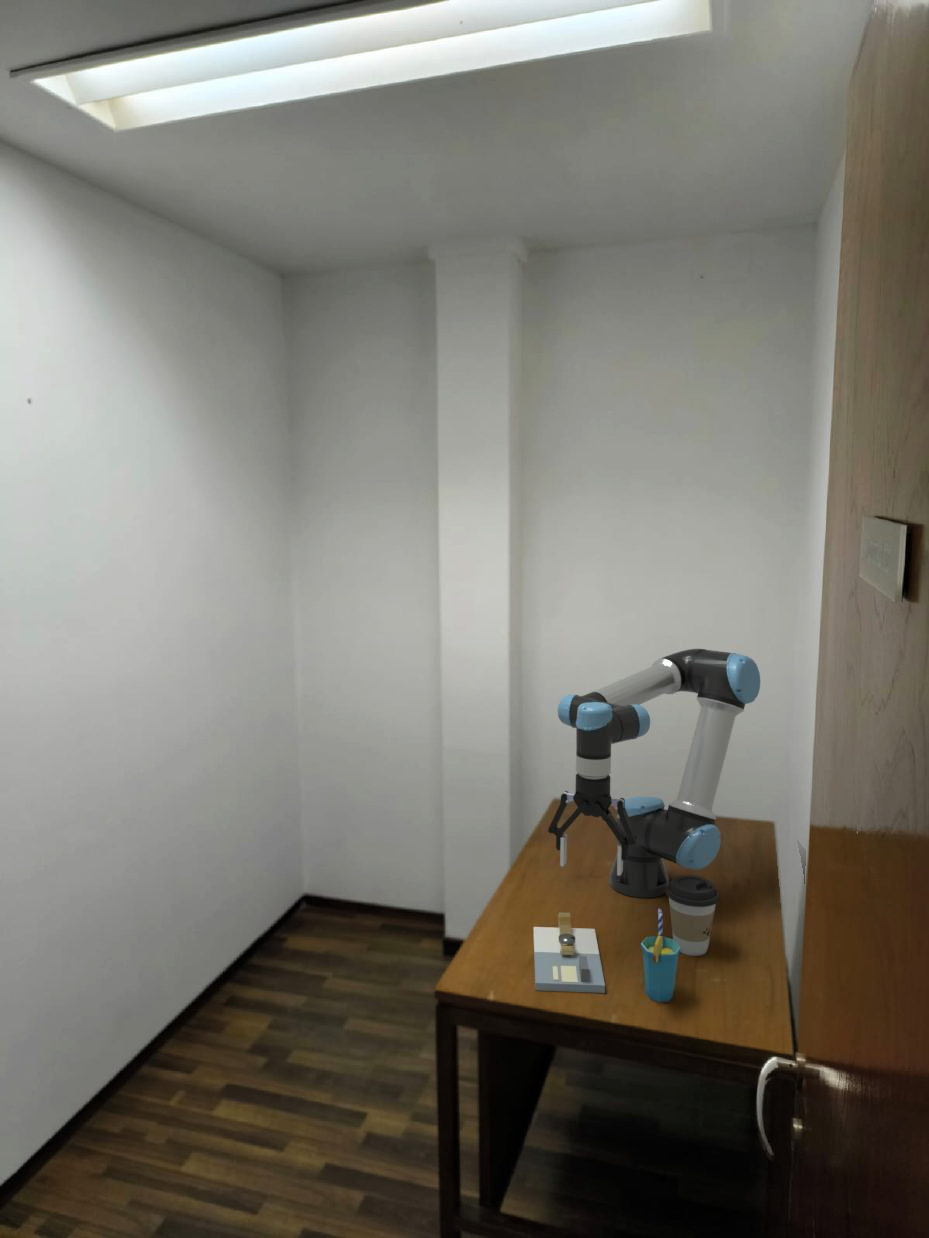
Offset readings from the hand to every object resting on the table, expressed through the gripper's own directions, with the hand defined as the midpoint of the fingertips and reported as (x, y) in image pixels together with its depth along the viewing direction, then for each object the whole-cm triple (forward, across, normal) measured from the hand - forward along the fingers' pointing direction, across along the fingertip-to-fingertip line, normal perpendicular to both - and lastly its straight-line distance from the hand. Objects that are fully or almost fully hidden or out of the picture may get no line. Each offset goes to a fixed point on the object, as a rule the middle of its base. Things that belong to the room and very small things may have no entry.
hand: (591, 868), depth 180 cm
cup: (+19, -17, +12) cm, 28 cm away
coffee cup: (+19, -21, -8) cm, 29 cm away
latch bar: (+16, +5, +3) cm, 17 cm away
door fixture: (+18, +4, +7) cm, 20 cm away
